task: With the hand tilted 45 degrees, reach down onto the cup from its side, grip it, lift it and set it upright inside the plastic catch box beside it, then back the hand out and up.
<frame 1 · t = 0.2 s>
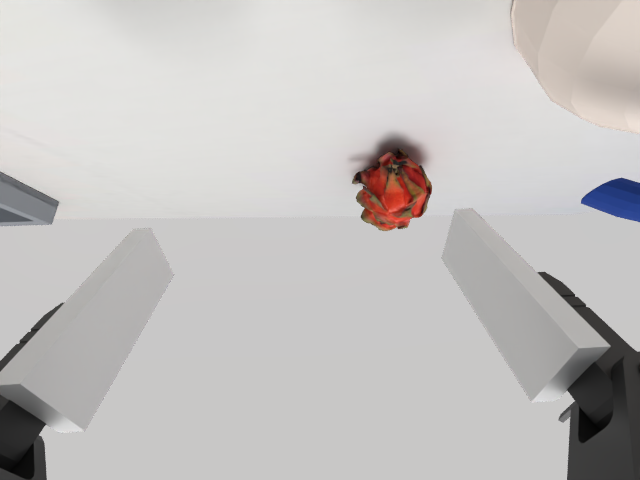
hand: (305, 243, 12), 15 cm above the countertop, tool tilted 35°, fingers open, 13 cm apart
dragon fruit: (387, 164, 34), on the countertop
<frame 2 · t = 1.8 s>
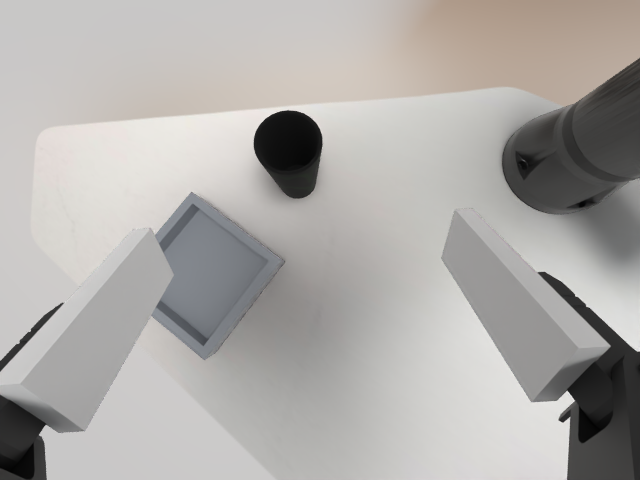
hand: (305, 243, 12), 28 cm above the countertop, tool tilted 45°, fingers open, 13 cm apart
cup: (298, 181, 42), on the countertop
catch box: (208, 272, 40), on the countertop
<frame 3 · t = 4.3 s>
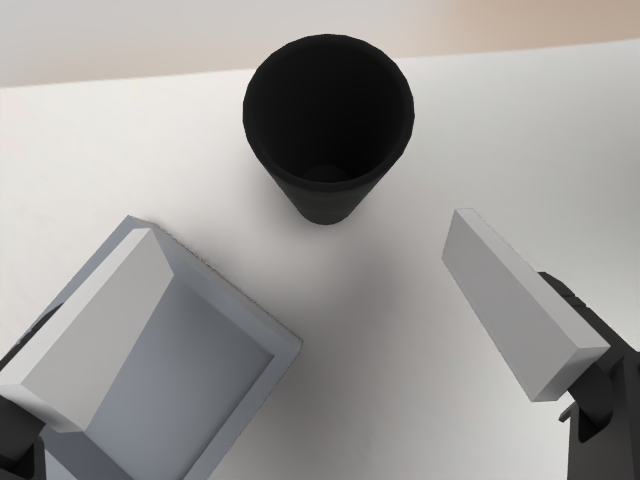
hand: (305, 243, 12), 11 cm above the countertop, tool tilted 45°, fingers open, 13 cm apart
cup: (325, 194, 24), on the countertop
catch box: (163, 361, 22), on the countertop
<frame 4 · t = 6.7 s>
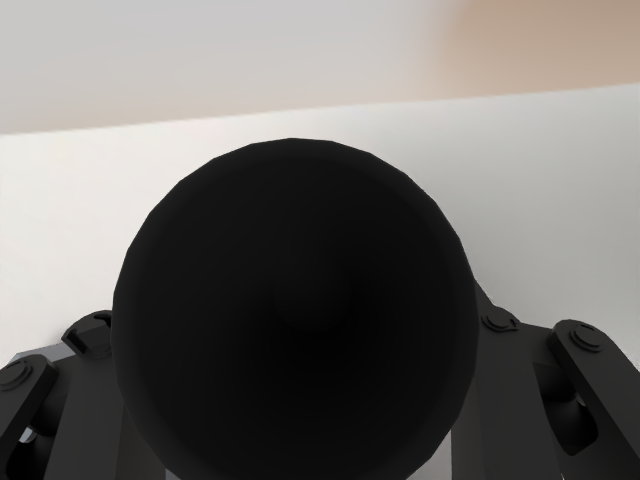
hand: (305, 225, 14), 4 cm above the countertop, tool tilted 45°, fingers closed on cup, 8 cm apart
cup: (312, 292, 18), on the countertop, touching gripper
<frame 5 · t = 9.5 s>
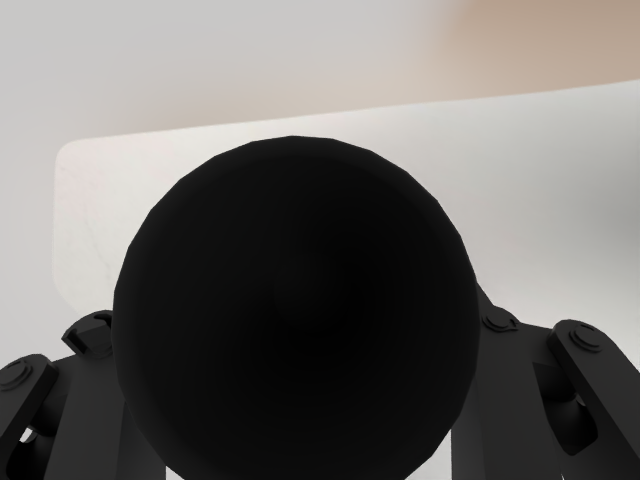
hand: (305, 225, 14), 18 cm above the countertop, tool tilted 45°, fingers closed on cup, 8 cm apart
cup: (313, 291, 18), point 13 cm above the countertop, touching gripper
when the fingers open (7 cm above the countertop, at t = 12.2 s): cup drops 1 cm, resting on catch box.
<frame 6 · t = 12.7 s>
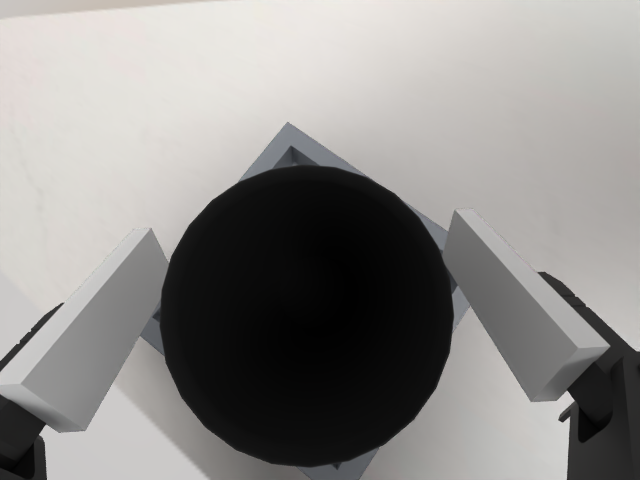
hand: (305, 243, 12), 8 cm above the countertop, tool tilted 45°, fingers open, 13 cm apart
cup: (316, 291, 19), point 1 cm above the countertop, touching catch box
catch box: (313, 291, 20), on the countertop
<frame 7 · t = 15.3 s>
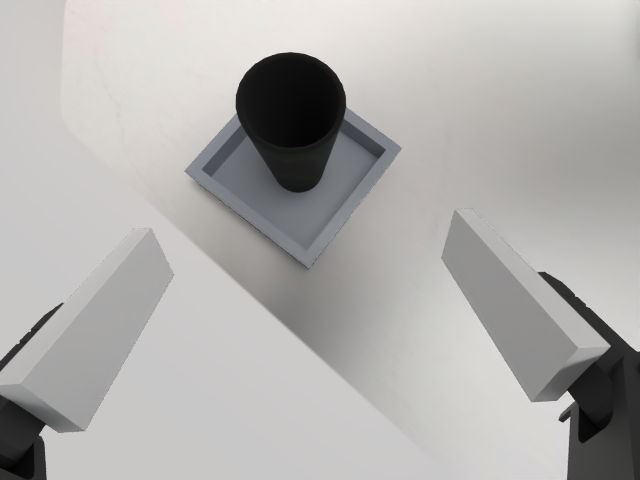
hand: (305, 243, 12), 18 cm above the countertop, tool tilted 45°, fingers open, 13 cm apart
cup: (298, 169, 31), point 1 cm above the countertop, touching catch box
catch box: (297, 172, 32), on the countertop
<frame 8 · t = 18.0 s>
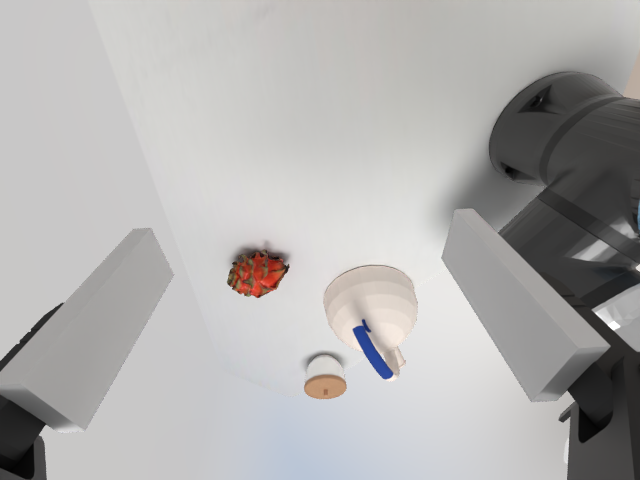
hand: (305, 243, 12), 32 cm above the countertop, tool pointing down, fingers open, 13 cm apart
lidded jar: (323, 360, 76), on the countertop
kettle: (368, 297, 62), on the countertop
dragon fruit: (261, 260, 54), on the countertop
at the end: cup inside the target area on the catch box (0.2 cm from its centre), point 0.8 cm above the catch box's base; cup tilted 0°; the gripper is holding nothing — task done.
